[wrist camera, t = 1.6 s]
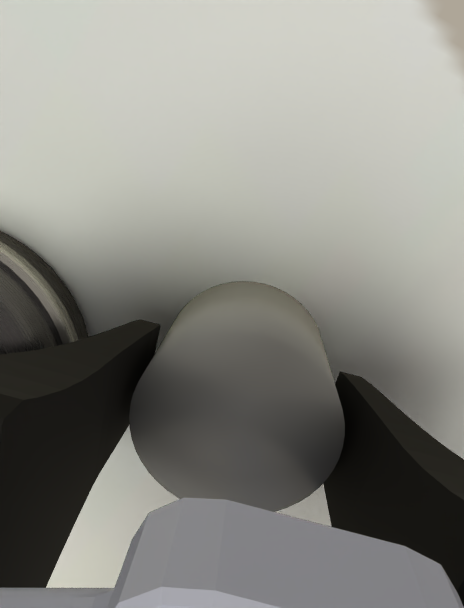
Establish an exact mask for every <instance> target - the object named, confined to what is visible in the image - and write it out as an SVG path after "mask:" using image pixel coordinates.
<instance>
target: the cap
mask: <svg viewBox="0 0 464 608" xmlns="http://www.w3.org/2000/svg"><path fill="white" fill-rule="evenodd" d="M129 422H130V432H131V437H132V441H133V444H134V447H135V449H136V452H137V454H138V456H139V458H140V460H141V462H142V463H143V465H144V466H145V467H146V469H147V470H148V472H149V473H150V474H151V475H152V476H153V477H154V479H155V480H156V481H157V482H158V483H160V484H161V485H162V486H163V487H164V488H165V489H166V490H168V491H169V492H171V493H172V494H173V495H175V496H176V497H178V498H180V499H182V498H205V499H225V500H230V501H234V502H238V503H241V504H245V505H249V506H253V507H257V508H261V509H264V510H268V511H272V512H275V511H278V510H281V509H284V508H287V507H289V506H292V505H294V504H296V503H298V502H300V501H301V500H303V499H305V498H306V497H308V496H309V495H311V494H312V493H313V492H314V491H315V490H317V489H318V488H319V487H320V486H321V485H322V484H323V483H324V482H325V481H326V480H327V478H328V477H329V475H330V474H331V473H332V471H333V470H334V468H335V466H336V464H337V462H338V460H339V458H340V454H341V451H342V448H343V443H344V437H345V421H344V415H343V410H342V406H341V403H340V399H339V396H338V393H337V389H336V386H335V383H334V379H333V376H332V373H331V369H330V366H329V362H328V359H327V356H326V352H325V349H324V346H323V342H322V339H321V336H320V333H319V329H318V327H317V325H316V323H315V321H314V320H313V318H312V317H311V315H310V314H309V312H308V311H307V310H306V309H305V308H304V307H303V305H302V304H300V303H299V302H298V301H297V300H296V299H295V298H293V297H292V296H290V295H289V294H287V293H286V292H284V291H282V290H280V289H277V288H275V287H272V286H269V285H266V284H262V283H257V282H247V281H239V282H230V283H224V284H220V285H217V286H214V287H212V288H210V289H207V290H205V291H203V292H202V293H200V294H199V295H197V296H196V297H194V298H193V299H192V300H191V301H190V302H189V303H187V305H186V306H185V307H184V308H183V309H182V310H181V312H180V313H179V315H178V316H177V318H176V320H175V321H174V323H173V325H172V326H171V328H170V330H169V331H168V333H167V335H166V336H165V338H164V340H163V341H162V343H161V345H160V346H159V348H158V350H157V351H156V353H155V355H154V356H153V358H152V360H151V361H150V363H149V365H148V367H147V368H146V370H145V372H144V373H143V375H142V377H141V378H140V380H139V382H138V384H137V386H136V388H135V391H134V393H133V397H132V400H131V404H130V413H129Z"/></svg>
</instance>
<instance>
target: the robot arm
mask: <svg viewBox="0 0 464 608" xmlns="http://www.w3.org/2000/svg"><path fill="white" fill-rule="evenodd" d="M159 330H160V325H159V324H155V323H151V322H147V321H144V320H136V321H133V322H130V323H128V324H125V325H122V326H119V327H117V328H114V329H111V330H109V331H106V332H103V333H100V334H97V335H94V336H91V337H88V338H84V339H81V340H78V341H74V342H71V343H67V344H63V345H59V346H55V347H49V348H44V349H39V350H33V351H25V352H16V353H7V354H0V608H464V460H463V459H462V458H461V457H459V456H458V455H456V454H455V453H453V452H452V451H450V450H449V449H448V448H446V447H445V446H444V445H442V444H441V443H440V442H438V441H437V440H436V439H434V438H433V437H432V436H431V435H429V434H428V433H427V432H426V431H424V430H423V429H422V428H421V427H419V426H418V425H417V424H416V423H415V422H413V421H412V420H411V419H410V418H409V417H408V416H406V415H405V414H404V413H403V412H402V411H401V410H400V409H398V408H397V407H396V406H395V405H394V404H393V403H392V402H391V401H389V400H388V399H387V398H386V397H385V396H384V395H383V394H382V393H380V392H379V391H378V390H377V389H376V388H375V387H374V386H372V385H371V384H370V383H369V382H367V381H366V380H365V379H363V378H362V377H359V376H355V375H351V374H347V373H343V372H340V373H339V376H338V379H337V381H336V384H335V386H336V389H337V393H338V396H339V399H340V403H341V406H342V410H343V415H344V421H345V437H344V443H343V448H342V451H341V454H340V458H339V460H338V462H337V464H336V466H335V468H334V470H333V471H332V473H331V474H330V475H329V477H328V478H327V480H326V481H325V482H324V489H325V494H326V499H327V504H328V509H329V515H330V520H331V525H332V527H330V526H326V525H322V524H318V523H314V522H311V521H307V520H303V519H299V518H295V517H291V516H287V515H284V514H280V513H276V512H272V511H268V510H264V509H261V508H257V507H253V506H249V505H245V504H241V503H238V502H234V501H230V500H225V499H205V498H182V499H179V500H177V501H175V502H172V503H170V504H168V505H165V506H163V507H161V508H159V509H156V510H154V511H152V512H149V514H148V515H147V517H146V518H145V520H144V521H143V523H142V525H141V526H140V528H139V529H138V531H137V532H136V534H135V536H134V537H133V539H132V541H131V544H130V547H129V550H128V552H127V555H126V558H125V561H124V563H123V566H122V569H121V572H120V574H119V577H118V580H117V583H116V585H115V588H46V586H47V584H48V581H49V579H50V577H51V575H52V572H53V570H54V568H55V565H56V563H57V561H58V559H59V556H60V554H61V552H62V550H63V548H64V546H65V543H66V541H67V539H68V537H69V535H70V533H71V530H72V528H73V526H74V524H75V522H76V520H77V517H78V515H79V513H80V511H81V509H82V507H83V505H84V503H85V501H86V499H87V496H88V494H89V492H90V490H91V488H92V486H93V484H94V482H95V480H96V479H97V477H98V475H99V473H100V471H101V470H102V468H103V467H104V465H105V463H106V462H107V460H108V458H109V457H110V455H111V454H112V452H113V450H114V449H115V447H116V445H117V444H118V442H119V441H120V439H121V437H122V436H123V434H124V432H125V431H126V429H127V427H128V426H129V424H130V422H129V413H130V404H131V400H132V397H133V393H134V391H135V388H136V386H137V384H138V382H139V380H140V378H141V377H142V375H143V373H144V372H145V370H146V368H147V367H148V365H149V363H150V361H151V360H152V358H153V356H154V355H155V350H156V345H157V340H158V335H159Z"/></svg>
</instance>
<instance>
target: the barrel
mask: <svg viewBox="0 0 464 608" xmlns="http://www.w3.org/2000/svg"><path fill="white" fill-rule="evenodd" d="M84 338H88V335H87V331H86V327H85V324H84V321H83V318H82V315H81V313H80V311H79V309H78V307H77V305H76V303H75V301H74V299H73V297H72V295H71V294H70V292H69V291H68V289H67V288H66V286H65V284H64V283H63V282H62V280H61V279H60V278H59V277H58V276H57V274H56V273H55V272H54V271H53V270H52V269H51V268H50V267H49V266H48V265H47V264H46V263H45V262H44V261H43V260H42V259H41V258H40V257H39V256H38V255H37V254H35V253H34V252H33V251H31V250H30V249H29V248H28V247H26V246H25V245H24V244H22V243H20V242H19V241H17V240H15V239H14V238H12V237H10V236H9V235H7V234H5V233H2V232H0V354H7V353H16V352H25V351H33V350H39V349H44V348H49V347H55V346H59V345H63V344H67V343H71V342H74V341H78V340H81V339H84Z"/></svg>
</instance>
